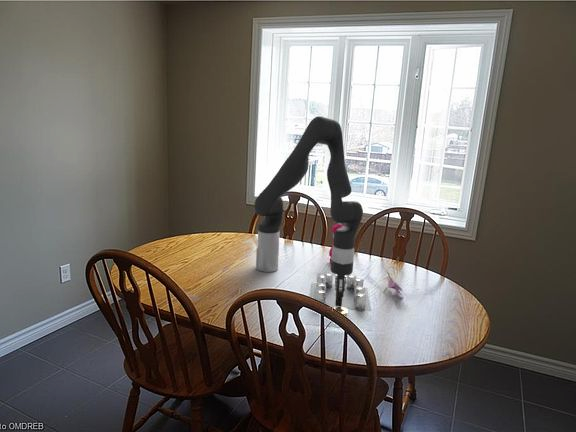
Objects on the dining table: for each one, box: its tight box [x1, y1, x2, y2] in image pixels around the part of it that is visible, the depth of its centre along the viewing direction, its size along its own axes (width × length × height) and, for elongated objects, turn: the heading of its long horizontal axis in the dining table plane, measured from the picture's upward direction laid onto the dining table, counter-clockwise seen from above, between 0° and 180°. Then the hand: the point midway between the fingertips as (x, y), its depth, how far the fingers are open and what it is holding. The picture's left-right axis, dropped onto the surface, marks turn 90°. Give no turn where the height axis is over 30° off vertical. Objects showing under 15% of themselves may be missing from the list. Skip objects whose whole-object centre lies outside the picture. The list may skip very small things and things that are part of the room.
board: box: [305, 282, 372, 332], centre depth 146 cm, size 22×32×1 cm
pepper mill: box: [328, 223, 344, 264], centre depth 187 cm, size 7×7×20 cm
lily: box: [382, 267, 404, 299], centre depth 157 cm, size 12×12×10 cm
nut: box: [334, 307, 348, 317], centre depth 136 cm, size 5×5×2 cm
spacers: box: [315, 272, 366, 312], centre depth 151 cm, size 18×21×5 cm
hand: (338, 305), depth 143 cm, fingers closed
